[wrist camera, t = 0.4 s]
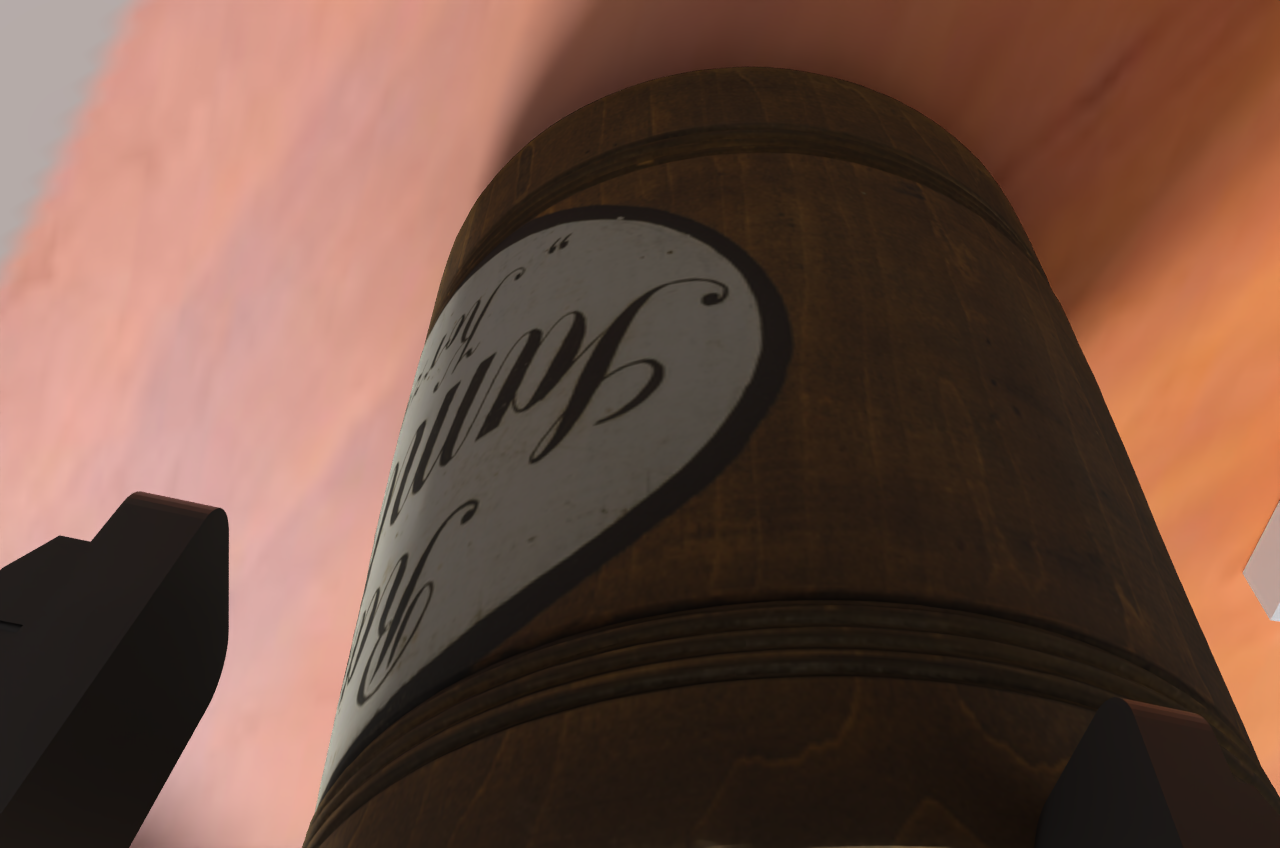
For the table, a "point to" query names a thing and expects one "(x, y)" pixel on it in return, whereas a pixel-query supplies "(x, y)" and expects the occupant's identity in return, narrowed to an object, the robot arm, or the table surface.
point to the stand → (1267, 568)
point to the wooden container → (750, 504)
